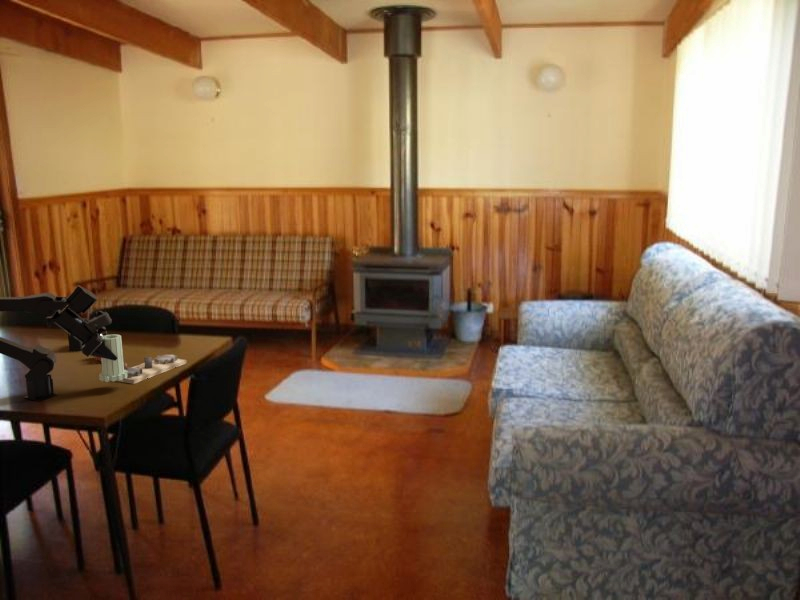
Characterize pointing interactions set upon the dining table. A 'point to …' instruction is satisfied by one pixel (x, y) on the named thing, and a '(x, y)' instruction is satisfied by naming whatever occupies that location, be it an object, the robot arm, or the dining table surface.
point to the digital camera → (74, 344)
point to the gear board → (153, 370)
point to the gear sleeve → (110, 367)
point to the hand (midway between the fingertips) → (117, 356)
